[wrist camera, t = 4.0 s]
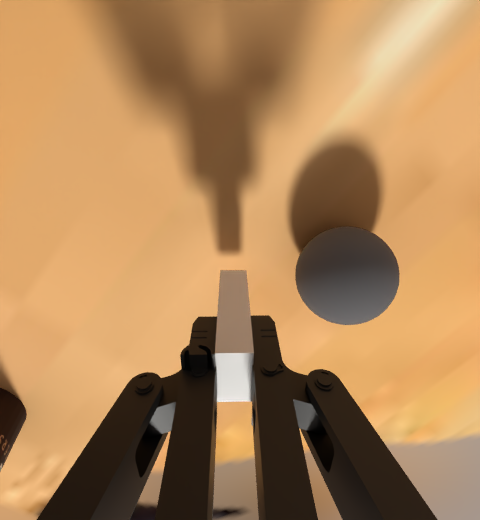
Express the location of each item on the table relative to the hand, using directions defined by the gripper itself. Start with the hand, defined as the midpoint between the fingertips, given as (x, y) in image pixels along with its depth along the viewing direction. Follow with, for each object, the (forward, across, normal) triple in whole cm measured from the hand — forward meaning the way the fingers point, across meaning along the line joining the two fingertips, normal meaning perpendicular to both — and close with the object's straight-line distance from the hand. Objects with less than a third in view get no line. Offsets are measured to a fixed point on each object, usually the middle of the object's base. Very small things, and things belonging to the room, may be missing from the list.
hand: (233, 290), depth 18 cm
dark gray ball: (0, +6, +1) cm, 6 cm away
